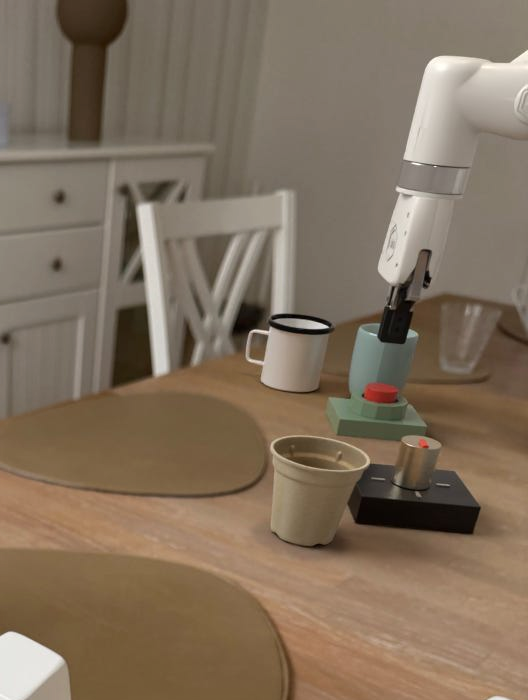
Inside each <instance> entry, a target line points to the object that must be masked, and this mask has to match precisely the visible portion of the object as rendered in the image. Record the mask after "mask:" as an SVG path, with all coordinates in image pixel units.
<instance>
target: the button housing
mask: <svg viewBox="0 0 528 700" xmlns="http://www.w3.org/2000/svg"><path fill="white" fill-rule="evenodd" d="M364 393H365V390H357V391H355V392H353V393H352V394H351V395H350V398H343V397H332V396H328V398H327V403H326V406H325V412H324V413H325V416H326V417H327V420H328V422H329V423H330V425H331V427H332V430H333V432H334V434H335V435H336V436H339V437H342V436H343V437H353V438H363V439H364V438H365V439H375V440H386V441H395V442H396V441H397V442H401V439H402V438H403V437H404V436H409V435H416V436H424V437H426V434H427V431H428V425H427V424H426V423H425V421H424V420H423V418H422V417H421V416H420V414H419V413H418V412H417V410H416V409H415V408H414V406H413V405H412V404H411V403H409V401H408V399H407V398H405V397H404V396H402V395H400V396H399V395H397V398H396V402H395V403H390V404H387V403H377V402H373V401H369V400H367V399H365V398H363V397H364Z"/></svg>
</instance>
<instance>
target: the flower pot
mask: <svg viewBox="0 0 528 700" xmlns="http://www.w3.org/2000/svg"><path fill="white" fill-rule="evenodd" d="M269 449H270V450H269V451H270V453H271V454H272V466H273V468H274V469H273V471H274V472H273V485H272V486H273V487H272V504H271V518H270V531H271V532H272V533H275V534H276V535H277V536H278V538H279V539H280V540H282V541H284V542H287V543H291V544H295V545H298V546H304V547H313V546H315V545H318V544H321V545H322V546H325V545H328V544H329V543H331V542H332V541H333V539H334V538H335V535H336V532H337V530H338V527H339V524H340V522H341V520H342V517H343V515H344V512H345V510H346V508H347V506H348V504H347V503H348V500H349V498H350V496H351V493H352V491H353V489H354V486H355V484H356V482H357V481H358V480H359V479H360V478H361V476H362V473H363V471H364V470H365V469H367V468H368V467H369V465H370V463H371V458H370V456H369V454H367V453H366V452H365V451H364V450H362V449H361V448H358V447H356V446H354V445H353V444H350V443H348V442H344V441H341V440H337V439H333V438H329V437H322V436H314V435H300V434H299V435H297V434H296V435H287V436H283V437H282V436H281V437H278V438H276V439H273V441H272V442H271V443H270V447H269Z"/></svg>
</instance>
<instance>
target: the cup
mask: <svg viewBox="0 0 528 700" xmlns="http://www.w3.org/2000/svg"><path fill="white" fill-rule="evenodd" d="M379 327H380V323H365V324H361V325H360V326H359V327H358V329H357V332H356V338H355V341H354V346H353V350H352V354H351V360H350V364H349V365H350V366H349V372H348V392H349V395H350V396H351V394H352V393H353V392H355V391H357V390H365V389H366V385H367V384H369V383H383V384H388V385H392V386H394V387H396V388H398V394H397V395H399V396H402V394H403V392H404V389H405V387H406V385H407V382H408V379H409V376H410V373H411V370H412V369H411V368H412V366H413V362H414V359H415V355H416V351H417V347H418V343H419V338H420V337H419V333H418V332H416V331H415V330H413V329H410V328H409V331H408V335H407V339H406V342H405V343H404V344H393V343H383V342H380V340H379V339H378V338H377V335H378V331H379Z"/></svg>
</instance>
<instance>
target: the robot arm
mask: <svg viewBox="0 0 528 700" xmlns="http://www.w3.org/2000/svg"><path fill="white" fill-rule="evenodd" d="M481 133H487V134H490V135H495V136H499V137H502V138H506V139H510V140H514V141H518V142H519V141H520V142H527V141H528V49H526V50H525V51H524V52H523V53H521V54H520V55H518V56H517V57H516V58H514V59H513V60H511V61H510V62H492V61H491V60H489V59H485V58H479V57H470V56H459V55H458V56H457V55H438V56H436V57H434V58H432V59H431V60H430V61H429V62H428V64H427V65H426V67H425V69H424V72H423V76H422V80H421V84H420V87H419V91H418V96H417V101H416V104H415V109H414V113H413V116H412V121H411V125H410V128H409V133H408V138H407V142H406V146H405V151H404V153H403V159H402V162H401V166H400V171H399V175H398V177H397V183H396V187H395V192H396V193H399V195H398V196H397V199H396V203H395V205H394V209H393V212H392V215H391V218H390V222H389V225H388V228H387V232H386V236H385V239H384V242H383V245H382V250H381V253H380V257H379V260H378V264H377V272H378V273H379V275H380V276H381V278H383V279H384V280H385V281H386V282H387V284H389V285H388V290H387V293H386V294H387V295H386V299H385V305H384V307H383V312H382V315H381V320H380V323H379V324H380V327H379V331H378V335H377V338H378V339H379V340H380V342H383V343H393V344H404V343H405V342H406V339H407V335H408V331H409V329H410V327H411V323H412V319H413V316H414V312H415V310H416V306H417V303H418V302H419V301H420V300H421V296H422V290H423V289H424V290H429V289H430V288H432V287H433V286H434V284H435V282H436V278H437V276H438V273H439V270H440V266H441V262H442V258H443V255H444V250H445V247H446V243H447V238H448V233H449V230H450V225H451V221H452V215H453V212H454V211H453V210H454V206H455V201H460V200H463V198H464V193H465V192H466V187H467V184H468V180H469V178H470V177H469V176H470V173H471V170H472V166H473V162H474V158H475V155H476V151H477V147H478V145H479V141H480V136H481Z"/></svg>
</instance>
